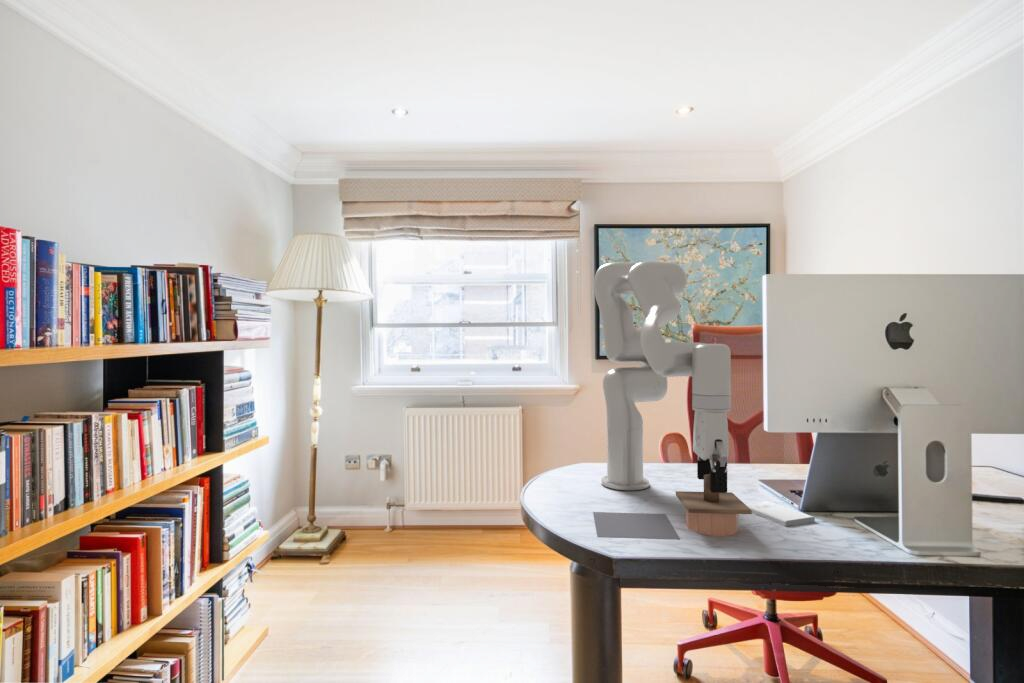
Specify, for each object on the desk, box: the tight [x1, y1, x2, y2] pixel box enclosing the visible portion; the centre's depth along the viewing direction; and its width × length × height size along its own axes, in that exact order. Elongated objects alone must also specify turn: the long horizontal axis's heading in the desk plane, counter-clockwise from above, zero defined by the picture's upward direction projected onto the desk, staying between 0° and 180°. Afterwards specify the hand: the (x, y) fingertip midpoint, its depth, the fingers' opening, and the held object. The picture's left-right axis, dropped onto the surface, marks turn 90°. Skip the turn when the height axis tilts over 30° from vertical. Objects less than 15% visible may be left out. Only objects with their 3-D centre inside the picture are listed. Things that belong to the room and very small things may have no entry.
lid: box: [675, 474, 753, 515], centre depth 110 cm, size 12×12×6 cm
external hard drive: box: [744, 500, 816, 527], centre depth 118 cm, size 2×8×12 cm
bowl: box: [685, 509, 740, 537], centre depth 110 cm, size 10×10×5 cm
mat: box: [592, 511, 681, 540], centre depth 111 cm, size 15×16×1 cm
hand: (711, 485), depth 110 cm, fingers open, 9 cm apart
